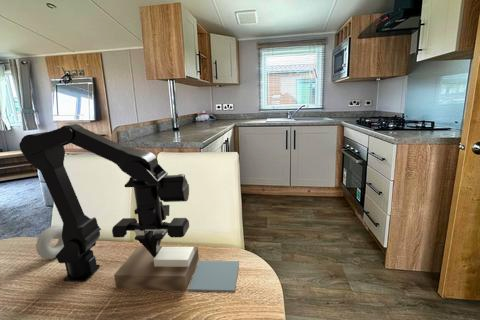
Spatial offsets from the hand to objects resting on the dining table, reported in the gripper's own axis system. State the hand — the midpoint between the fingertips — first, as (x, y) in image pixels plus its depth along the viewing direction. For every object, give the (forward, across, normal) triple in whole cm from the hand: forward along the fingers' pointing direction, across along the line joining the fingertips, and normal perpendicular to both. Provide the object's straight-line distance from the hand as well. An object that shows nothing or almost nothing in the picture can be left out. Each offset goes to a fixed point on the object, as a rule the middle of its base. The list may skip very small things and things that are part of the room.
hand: (155, 256), depth 69 cm
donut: (+5, +35, -7) cm, 36 cm away
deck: (+5, -1, 0) cm, 5 cm away
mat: (+5, -16, +1) cm, 17 cm away
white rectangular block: (+1, -5, 0) cm, 5 cm away
